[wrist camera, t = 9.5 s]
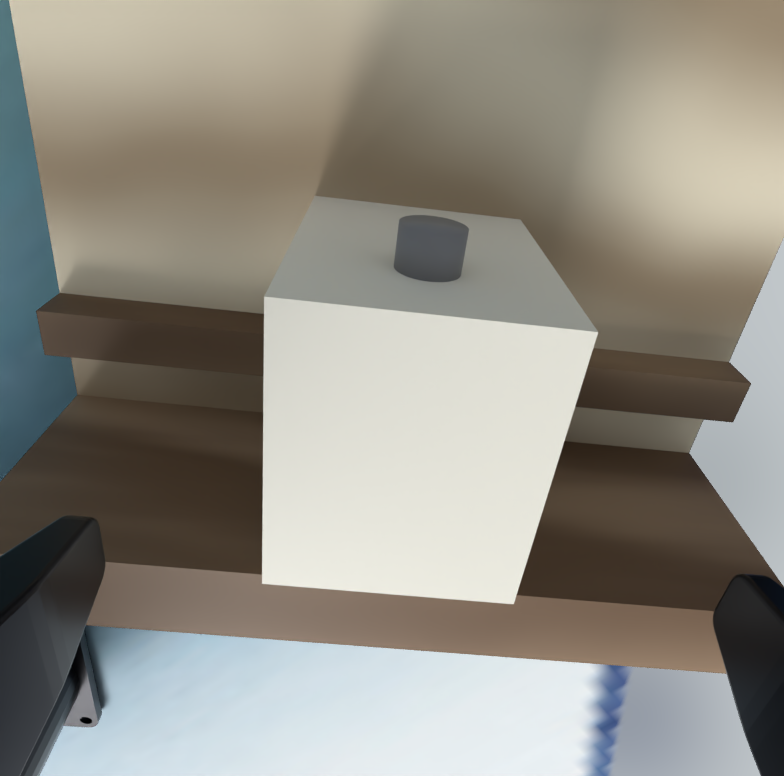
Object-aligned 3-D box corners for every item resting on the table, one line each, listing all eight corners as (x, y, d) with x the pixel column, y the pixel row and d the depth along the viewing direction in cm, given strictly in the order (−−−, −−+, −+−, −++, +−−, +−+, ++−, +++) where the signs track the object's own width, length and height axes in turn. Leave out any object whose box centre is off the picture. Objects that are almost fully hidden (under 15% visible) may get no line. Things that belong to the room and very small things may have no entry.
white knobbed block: (475, 424, 18) (513, 604, 12) (304, 407, 17) (261, 584, 12) (527, 185, 14) (613, 281, 9) (316, 160, 14) (264, 243, 8)
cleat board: (655, 483, 20) (767, 676, 14) (101, 432, 19) (-35, 615, 13) (917, -143, 12) (1439, -322, 6) (-12, -283, 11) (-492, -661, 5)
